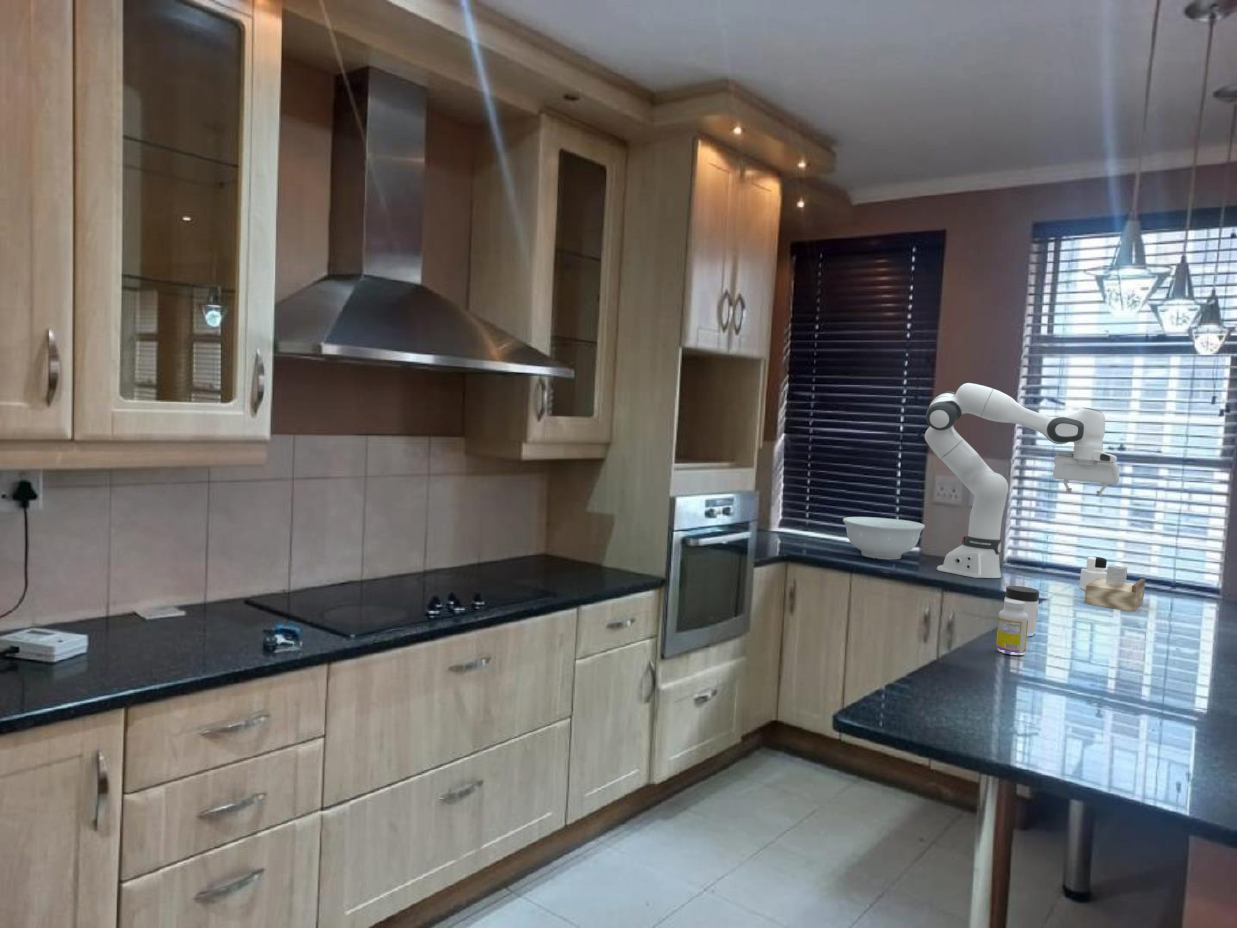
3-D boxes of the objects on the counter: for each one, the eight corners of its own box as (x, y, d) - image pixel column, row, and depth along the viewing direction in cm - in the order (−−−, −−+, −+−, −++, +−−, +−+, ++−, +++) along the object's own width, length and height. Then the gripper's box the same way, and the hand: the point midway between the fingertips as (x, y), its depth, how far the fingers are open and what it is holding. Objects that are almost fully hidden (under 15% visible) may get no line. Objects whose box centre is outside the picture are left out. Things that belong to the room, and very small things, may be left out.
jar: (1043, 635, 229) (1047, 591, 229) (1022, 637, 226) (1026, 593, 225) (1015, 627, 237) (1018, 584, 237) (994, 629, 234) (998, 585, 233)
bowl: (824, 552, 352) (827, 517, 351) (866, 547, 374) (869, 514, 373) (896, 566, 328) (899, 528, 327) (936, 560, 350) (939, 524, 349)
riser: (1084, 603, 278) (1086, 579, 277) (1095, 595, 293) (1097, 572, 293) (1134, 611, 269) (1136, 586, 269) (1142, 602, 285) (1145, 579, 284)
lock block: (1105, 584, 281) (1107, 566, 280) (1108, 582, 284) (1110, 564, 284) (1123, 587, 277) (1124, 569, 277) (1125, 585, 281) (1127, 567, 281)
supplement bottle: (1010, 648, 214) (1014, 597, 213) (1031, 656, 208) (1036, 604, 207) (989, 649, 211) (993, 598, 211) (1010, 657, 205) (1014, 604, 204)
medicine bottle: (1099, 589, 305) (1103, 556, 304) (1109, 593, 298) (1112, 559, 297) (1078, 588, 306) (1082, 554, 305) (1087, 592, 299) (1091, 558, 298)
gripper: (1052, 452, 300) (1048, 491, 301) (1119, 457, 288) (1115, 498, 288) (1056, 452, 305) (1052, 491, 306) (1122, 457, 293) (1118, 497, 293)
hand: (1083, 494), depth 297 cm, fingers open, 8 cm apart
